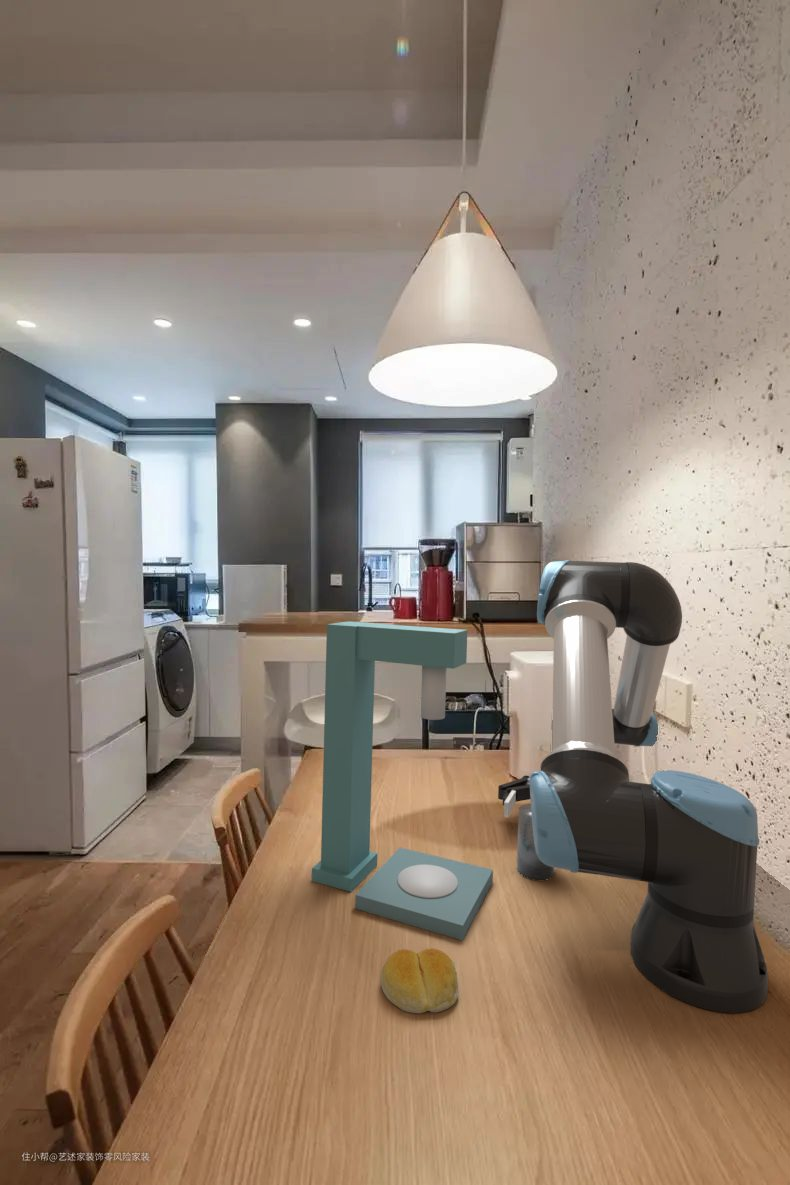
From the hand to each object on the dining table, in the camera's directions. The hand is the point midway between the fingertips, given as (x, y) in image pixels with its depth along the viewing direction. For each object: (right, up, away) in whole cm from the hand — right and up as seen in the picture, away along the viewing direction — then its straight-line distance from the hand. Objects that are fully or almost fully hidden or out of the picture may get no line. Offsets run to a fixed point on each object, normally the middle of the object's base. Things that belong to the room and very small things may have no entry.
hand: (544, 817), depth 101 cm
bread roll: (-23, -7, -34) cm, 42 cm away
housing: (-3, -6, -7) cm, 10 cm away
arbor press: (-26, -6, -13) cm, 29 cm away
